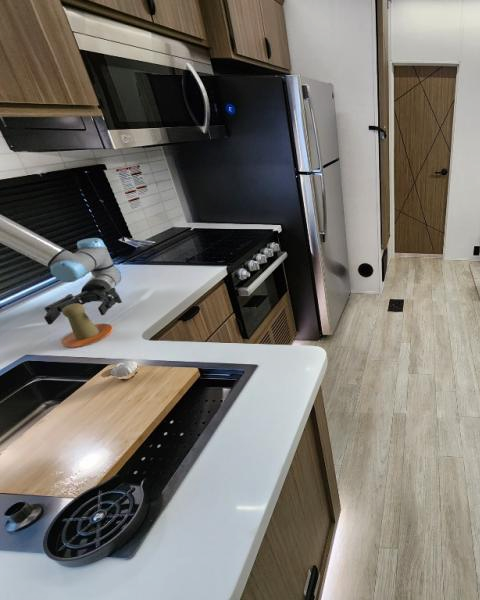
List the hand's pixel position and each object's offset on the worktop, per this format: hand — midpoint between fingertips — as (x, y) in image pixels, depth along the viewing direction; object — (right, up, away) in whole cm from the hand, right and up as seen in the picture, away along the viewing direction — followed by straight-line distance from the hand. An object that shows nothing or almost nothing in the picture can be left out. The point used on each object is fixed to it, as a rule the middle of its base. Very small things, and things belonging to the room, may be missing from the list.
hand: (74, 316), depth 105 cm
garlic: (+28, -17, -13) cm, 35 cm away
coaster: (0, -7, +4) cm, 8 cm away
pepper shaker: (0, -6, +4) cm, 8 cm away
